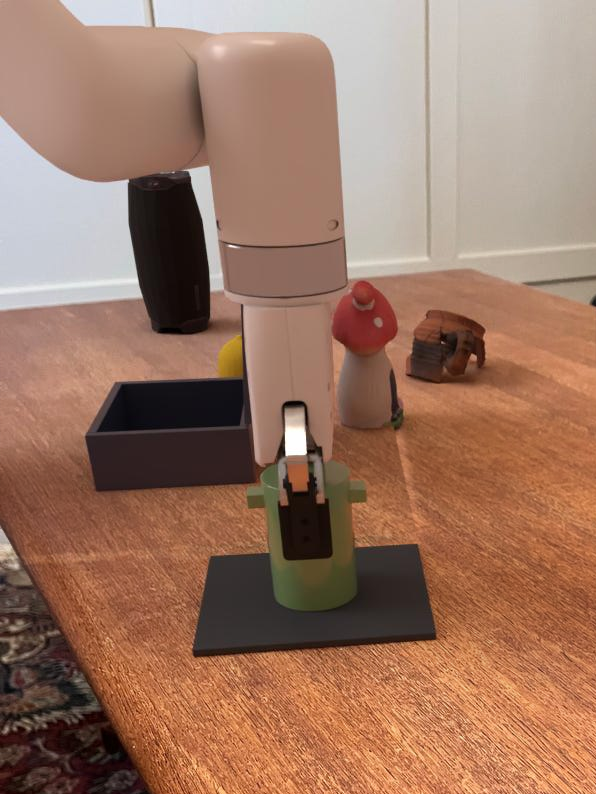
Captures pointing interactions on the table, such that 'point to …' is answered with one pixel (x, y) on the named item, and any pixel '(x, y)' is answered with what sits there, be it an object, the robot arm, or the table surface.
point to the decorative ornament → (366, 359)
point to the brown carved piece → (445, 345)
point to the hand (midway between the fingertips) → (308, 526)
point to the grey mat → (291, 629)
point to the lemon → (231, 359)
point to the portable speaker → (170, 251)
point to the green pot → (316, 578)
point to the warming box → (172, 435)
